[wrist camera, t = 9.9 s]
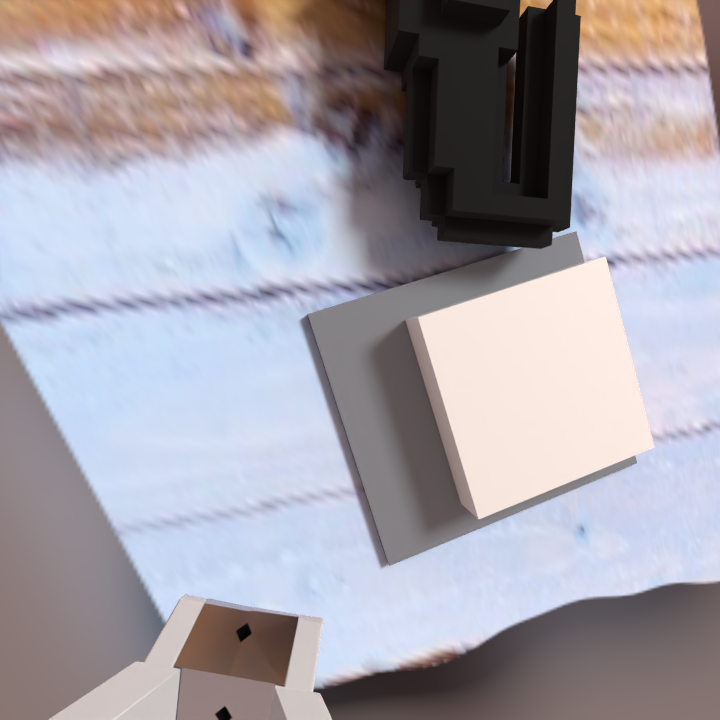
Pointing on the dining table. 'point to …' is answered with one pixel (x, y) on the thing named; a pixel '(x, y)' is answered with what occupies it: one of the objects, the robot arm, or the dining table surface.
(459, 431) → the tile
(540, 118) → the tool
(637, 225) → the dining table surface
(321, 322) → the mat
